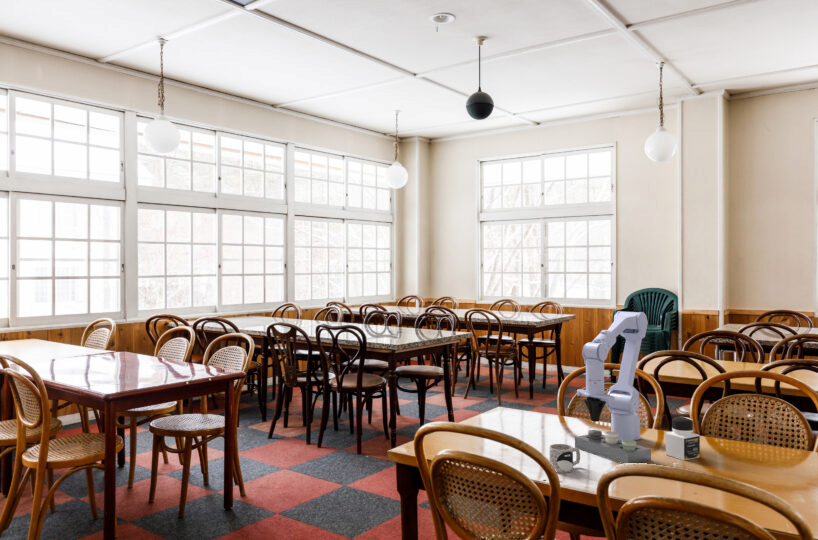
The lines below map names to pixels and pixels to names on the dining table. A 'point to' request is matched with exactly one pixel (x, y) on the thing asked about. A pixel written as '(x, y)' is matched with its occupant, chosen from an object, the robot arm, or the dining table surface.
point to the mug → (563, 457)
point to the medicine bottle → (682, 440)
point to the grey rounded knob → (595, 434)
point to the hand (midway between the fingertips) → (595, 421)
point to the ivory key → (611, 438)
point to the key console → (612, 450)
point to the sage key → (629, 445)
